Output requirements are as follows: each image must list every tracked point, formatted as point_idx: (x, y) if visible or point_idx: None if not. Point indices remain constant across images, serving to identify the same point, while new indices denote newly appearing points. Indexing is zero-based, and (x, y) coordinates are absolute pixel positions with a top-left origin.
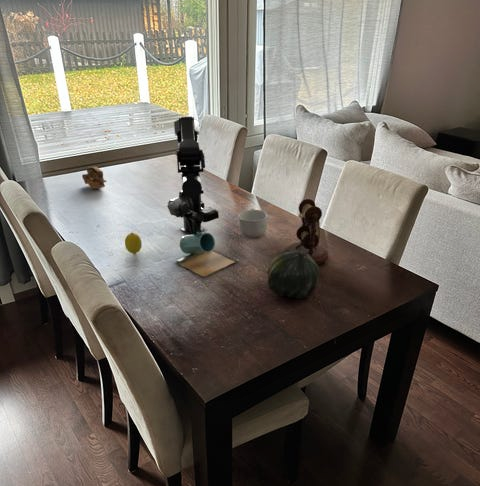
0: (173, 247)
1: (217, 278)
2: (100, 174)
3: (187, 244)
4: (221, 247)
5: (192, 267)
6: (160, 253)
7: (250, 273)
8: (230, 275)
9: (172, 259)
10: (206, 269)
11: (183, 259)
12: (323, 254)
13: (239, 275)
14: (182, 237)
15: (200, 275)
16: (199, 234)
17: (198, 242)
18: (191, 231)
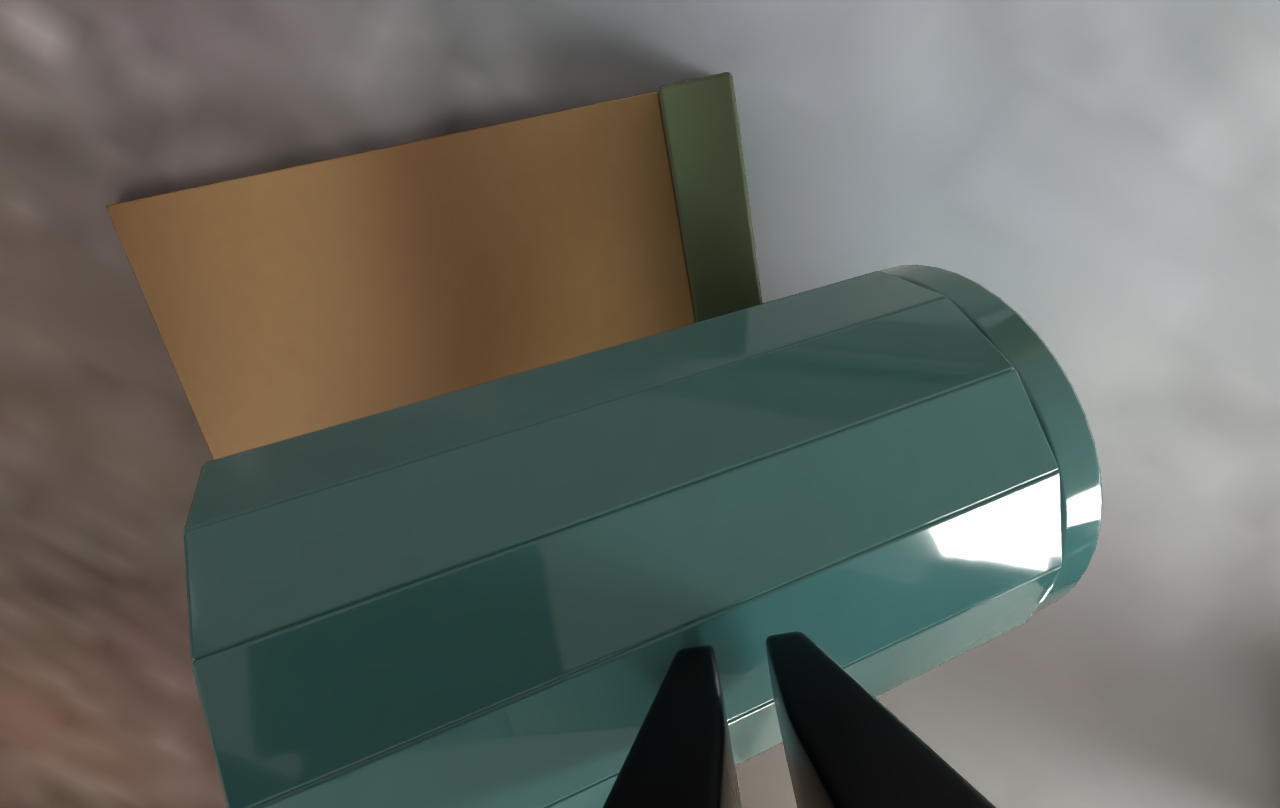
0: (1226, 307)
1: (33, 351)
2: None
3: (701, 350)
4: (752, 783)
5: (439, 210)
6: (1227, 4)
7: (25, 702)
8: (54, 517)
9: (889, 82)
10: (293, 350)
11: (680, 188)
12: None
13: (19, 594)
14: (1065, 421)
15: (177, 192)
16: (383, 741)
17: (215, 506)
18: (798, 672)
